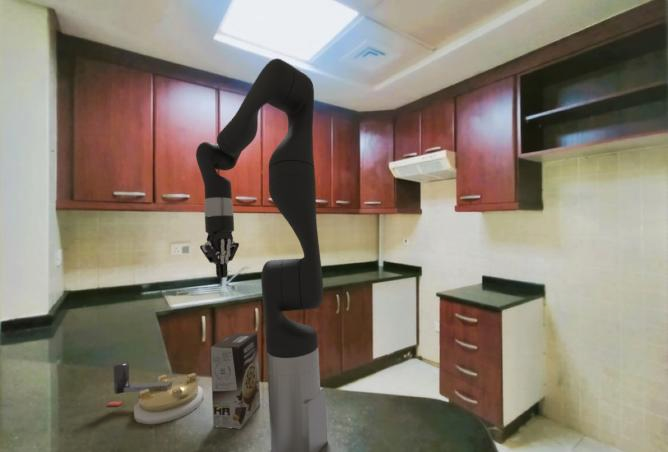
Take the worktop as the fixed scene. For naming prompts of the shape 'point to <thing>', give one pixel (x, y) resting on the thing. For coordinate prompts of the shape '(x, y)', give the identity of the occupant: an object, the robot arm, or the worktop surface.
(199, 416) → the worktop surface
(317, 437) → the robot arm
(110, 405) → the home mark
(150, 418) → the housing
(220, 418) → the coffee box
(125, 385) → the gold oval piece
